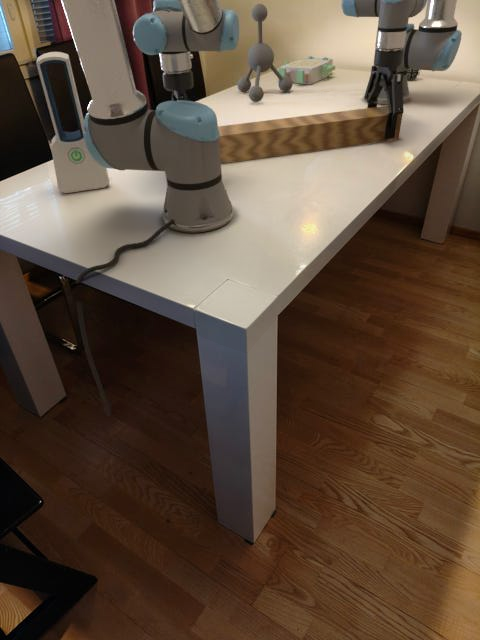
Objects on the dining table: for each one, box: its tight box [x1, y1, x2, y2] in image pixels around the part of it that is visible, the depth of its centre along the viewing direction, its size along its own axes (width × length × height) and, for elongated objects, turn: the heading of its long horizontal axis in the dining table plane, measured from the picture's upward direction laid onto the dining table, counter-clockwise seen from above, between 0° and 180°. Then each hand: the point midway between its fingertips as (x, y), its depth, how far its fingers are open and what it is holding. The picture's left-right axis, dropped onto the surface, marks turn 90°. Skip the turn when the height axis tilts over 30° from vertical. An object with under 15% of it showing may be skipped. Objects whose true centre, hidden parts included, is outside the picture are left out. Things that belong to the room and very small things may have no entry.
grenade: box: [407, 69, 421, 81], centre depth 194 cm, size 7×6×10 cm
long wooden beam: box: [218, 105, 404, 165], centre depth 137 cm, size 66×8×7 cm, turn 104°
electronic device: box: [35, 51, 110, 194], centre depth 116 cm, size 12×8×30 cm, turn 105°
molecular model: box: [237, 3, 293, 103], centre depth 180 cm, size 24×22×30 cm
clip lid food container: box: [277, 55, 336, 85], centre depth 206 cm, size 26×6×20 cm
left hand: (187, 160), depth 135 cm, fingers closed on long wooden beam, 9 cm apart
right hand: (379, 132), depth 143 cm, fingers open, 12 cm apart
